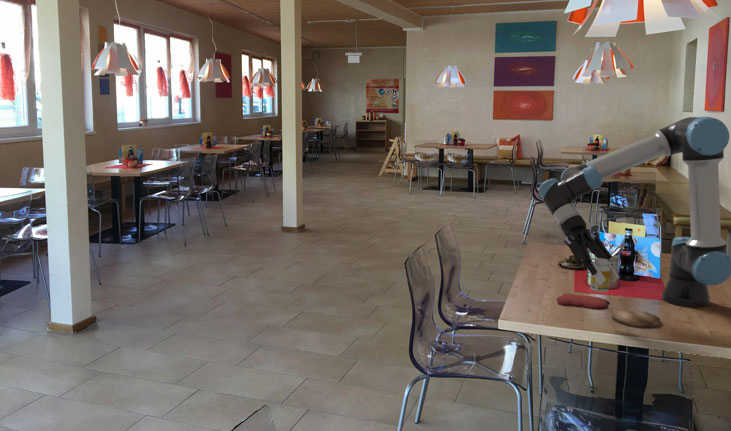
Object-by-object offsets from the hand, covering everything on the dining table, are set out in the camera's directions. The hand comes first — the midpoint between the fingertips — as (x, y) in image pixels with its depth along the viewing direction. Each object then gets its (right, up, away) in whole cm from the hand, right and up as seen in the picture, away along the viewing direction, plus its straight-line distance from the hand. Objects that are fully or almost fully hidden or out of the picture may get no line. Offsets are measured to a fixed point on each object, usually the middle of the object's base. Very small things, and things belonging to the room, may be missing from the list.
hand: (609, 281), depth 189 cm
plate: (+12, -13, +8) cm, 19 cm away
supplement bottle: (-2, -3, +3) cm, 5 cm away
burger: (+15, -3, +80) cm, 81 cm away
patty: (+1, -11, +27) cm, 29 cm away
